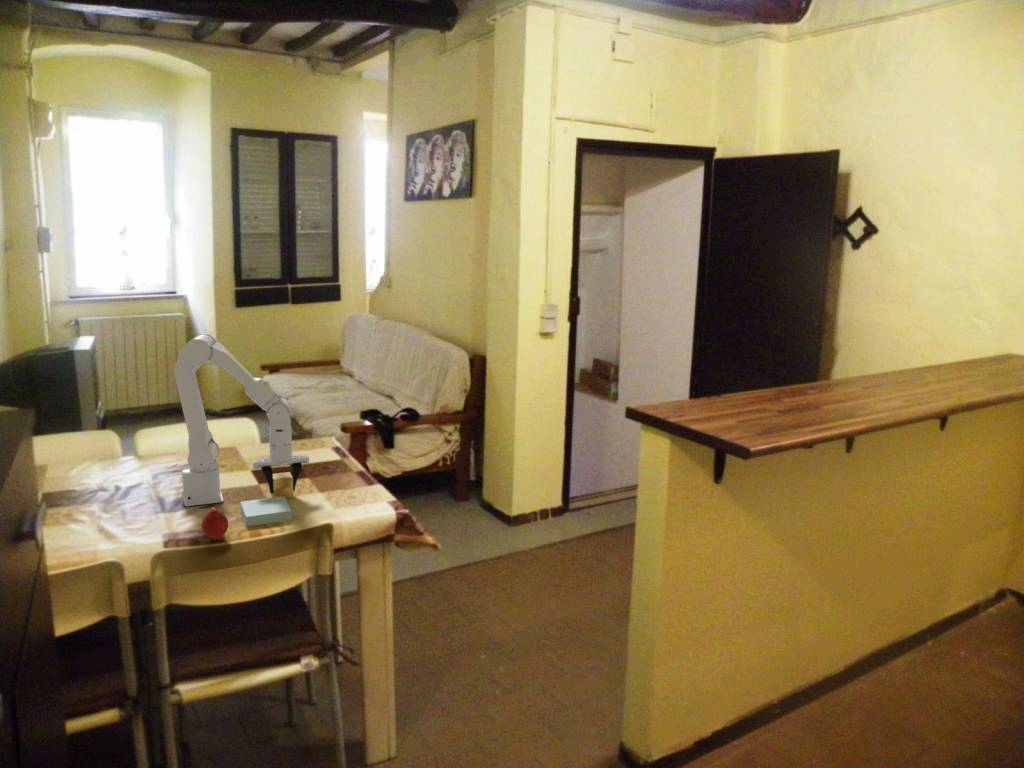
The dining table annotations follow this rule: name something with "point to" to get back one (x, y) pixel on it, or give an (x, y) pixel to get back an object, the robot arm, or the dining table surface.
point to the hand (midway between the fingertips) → (282, 491)
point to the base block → (266, 511)
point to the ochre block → (283, 485)
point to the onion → (214, 524)
